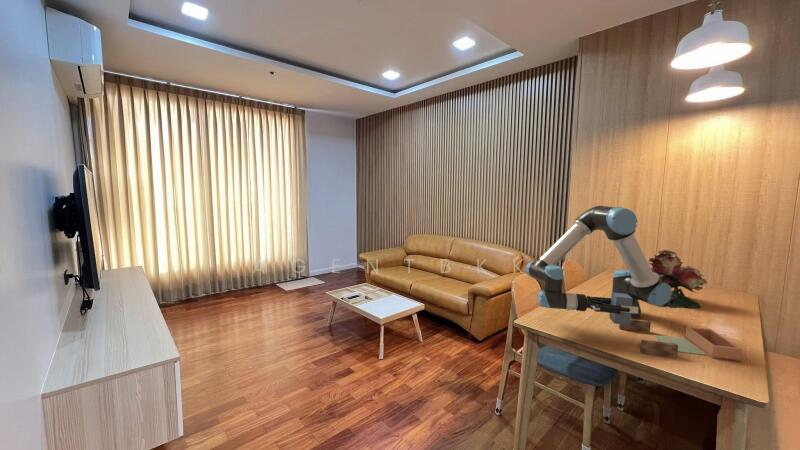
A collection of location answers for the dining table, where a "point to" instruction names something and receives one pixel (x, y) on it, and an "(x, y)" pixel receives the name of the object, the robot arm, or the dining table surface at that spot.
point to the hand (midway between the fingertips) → (634, 307)
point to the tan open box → (713, 344)
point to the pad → (681, 344)
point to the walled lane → (651, 346)
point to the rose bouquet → (677, 278)
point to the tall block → (624, 301)
